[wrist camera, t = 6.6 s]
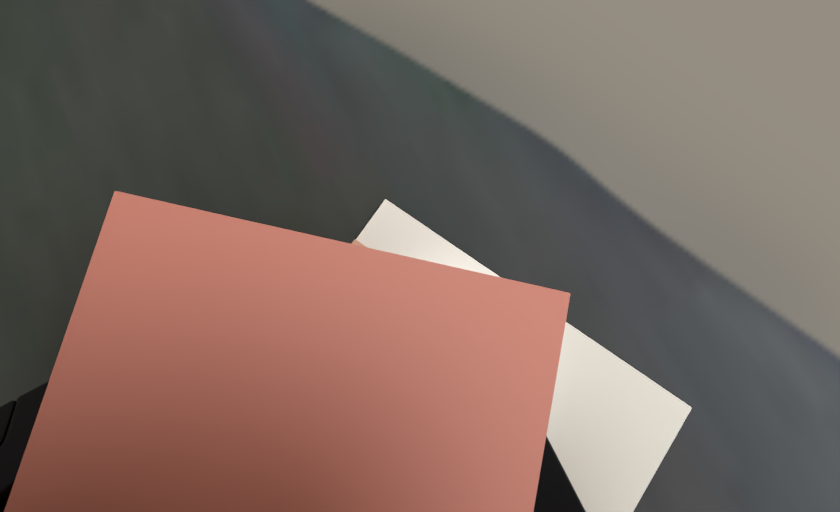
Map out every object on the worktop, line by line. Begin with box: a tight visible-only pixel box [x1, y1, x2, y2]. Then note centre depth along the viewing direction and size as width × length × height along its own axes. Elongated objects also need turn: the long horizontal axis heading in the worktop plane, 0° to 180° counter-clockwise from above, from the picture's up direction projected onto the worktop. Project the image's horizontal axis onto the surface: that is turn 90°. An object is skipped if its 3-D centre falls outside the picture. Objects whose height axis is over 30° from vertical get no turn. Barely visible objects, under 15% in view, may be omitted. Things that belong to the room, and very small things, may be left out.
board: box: [352, 199, 692, 512], centre depth 18 cm, size 14×11×1 cm
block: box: [4, 191, 571, 512], centre depth 10 cm, size 5×5×12 cm
